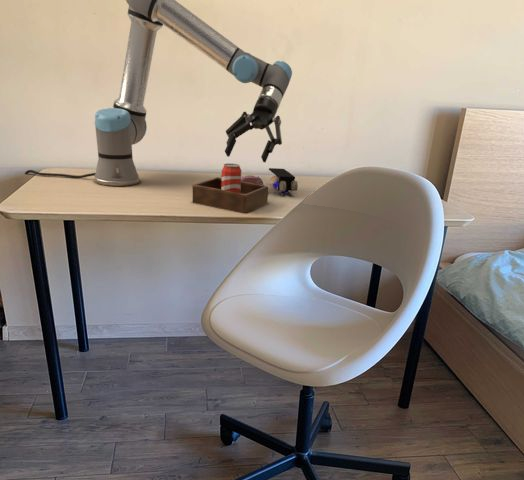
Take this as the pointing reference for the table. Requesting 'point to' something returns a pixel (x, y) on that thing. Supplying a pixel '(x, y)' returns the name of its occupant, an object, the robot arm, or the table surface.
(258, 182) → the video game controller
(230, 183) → the beverage can
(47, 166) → the table surface
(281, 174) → the figurine character
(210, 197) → the brown wooden box
